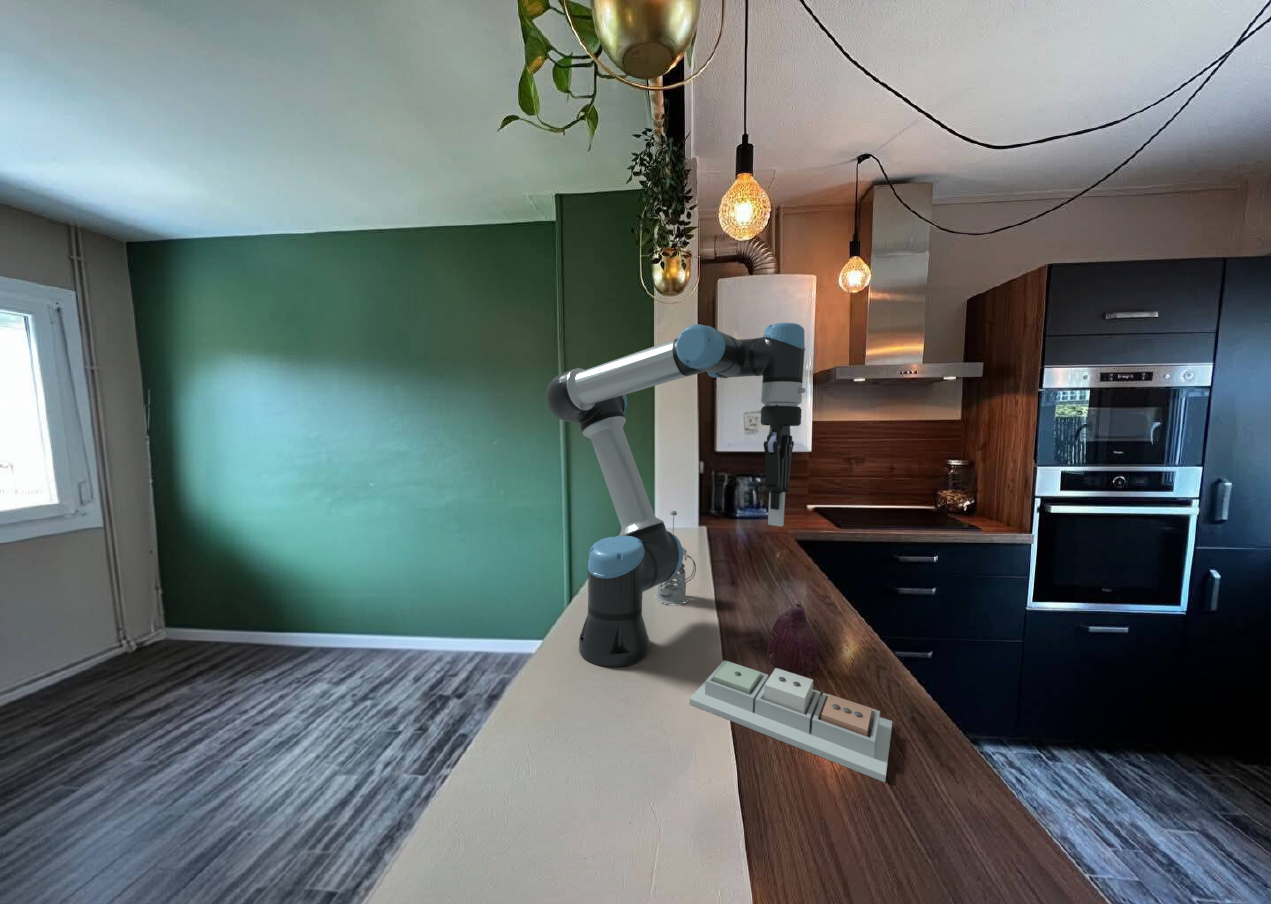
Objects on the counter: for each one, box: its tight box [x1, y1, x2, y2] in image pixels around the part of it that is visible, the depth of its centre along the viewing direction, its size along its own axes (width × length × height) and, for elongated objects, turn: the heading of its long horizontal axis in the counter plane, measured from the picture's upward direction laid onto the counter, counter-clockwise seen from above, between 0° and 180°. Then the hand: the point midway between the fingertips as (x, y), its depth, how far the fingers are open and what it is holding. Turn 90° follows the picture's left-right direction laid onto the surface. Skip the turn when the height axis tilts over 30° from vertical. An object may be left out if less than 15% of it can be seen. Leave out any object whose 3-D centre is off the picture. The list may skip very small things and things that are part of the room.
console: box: [688, 660, 893, 783], centre depth 76 cm, size 30×14×4 cm, turn 57°
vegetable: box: [766, 602, 819, 675], centre depth 92 cm, size 10×10×15 cm
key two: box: [764, 667, 814, 714], centre depth 76 cm, size 6×6×3 cm
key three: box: [821, 693, 873, 737], centre depth 71 cm, size 6×6×3 cm
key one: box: [714, 660, 762, 695], centre depth 81 cm, size 6×6×3 cm
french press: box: [654, 510, 697, 604], centre depth 125 cm, size 10×12×25 cm
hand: (775, 524), depth 89 cm, fingers closed
